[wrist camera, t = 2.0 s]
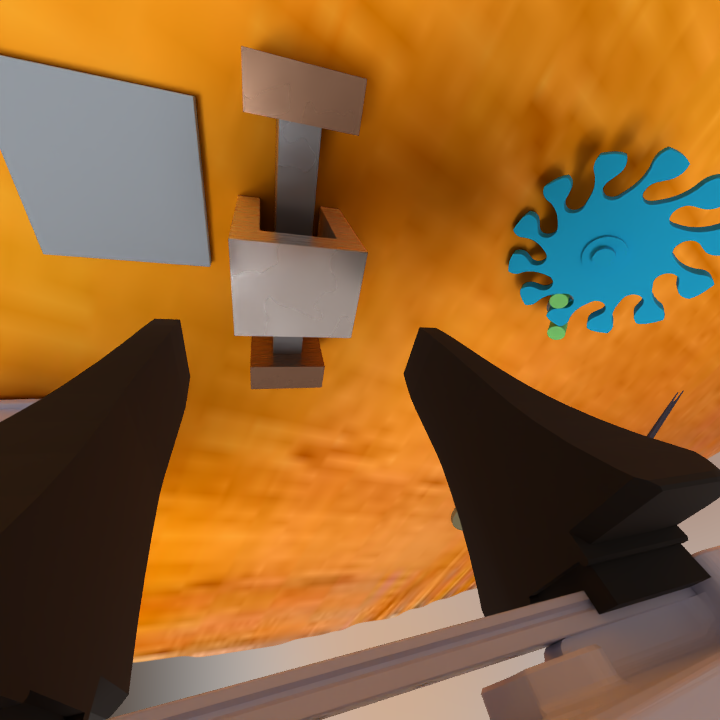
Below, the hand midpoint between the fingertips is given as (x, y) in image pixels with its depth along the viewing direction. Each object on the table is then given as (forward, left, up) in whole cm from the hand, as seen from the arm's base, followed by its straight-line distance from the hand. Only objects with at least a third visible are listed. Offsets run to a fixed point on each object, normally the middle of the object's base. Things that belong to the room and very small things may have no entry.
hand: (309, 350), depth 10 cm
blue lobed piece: (+2, -17, -10) cm, 20 cm away
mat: (+2, +8, -10) cm, 13 cm away
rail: (0, 0, -10) cm, 10 cm away
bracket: (0, 0, -10) cm, 10 cm away
